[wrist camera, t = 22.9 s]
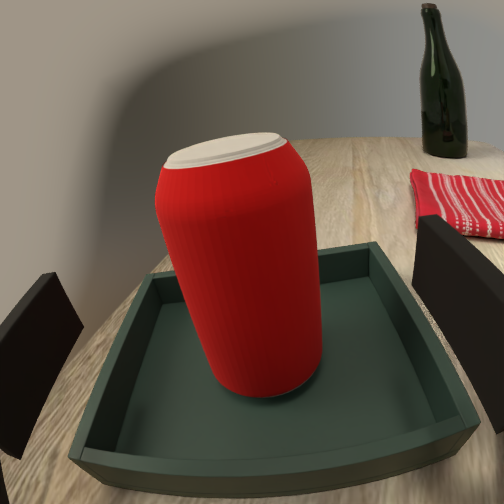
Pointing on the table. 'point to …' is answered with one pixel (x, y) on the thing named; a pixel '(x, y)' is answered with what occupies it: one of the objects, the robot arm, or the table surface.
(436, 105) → the wine bottle
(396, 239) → the table surface
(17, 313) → the robot arm
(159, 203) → the beverage can
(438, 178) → the dish towel
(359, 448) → the drinks tray
